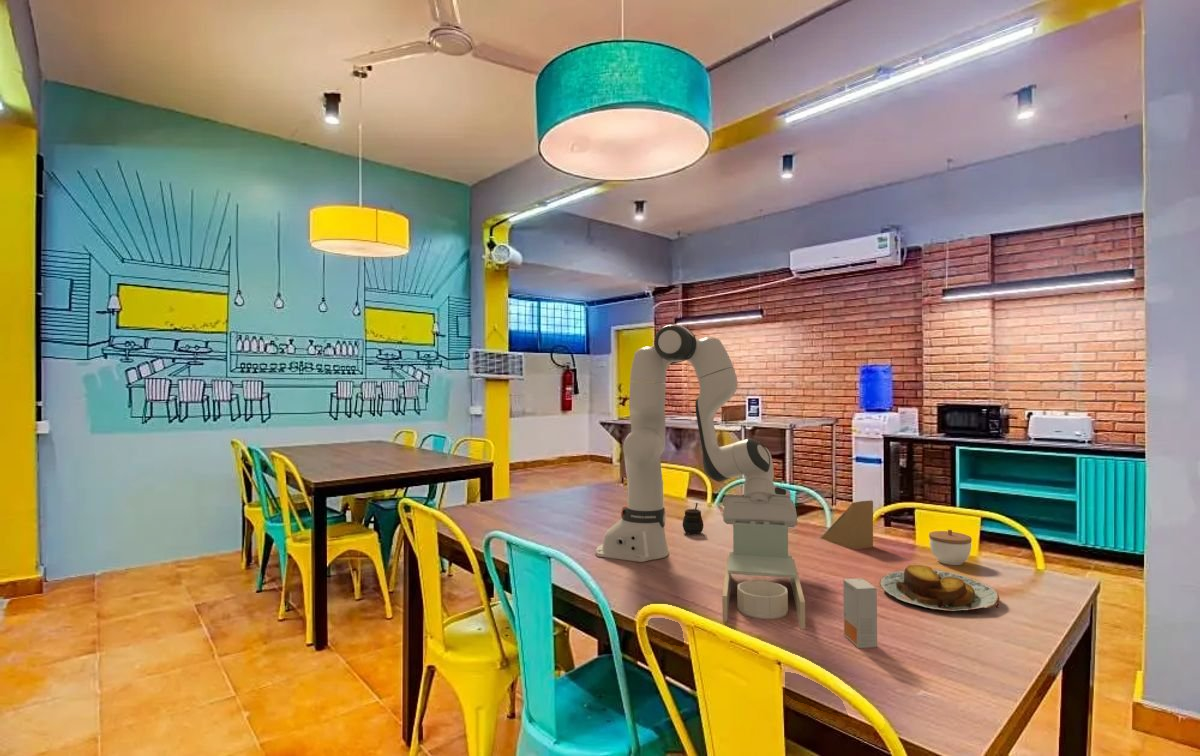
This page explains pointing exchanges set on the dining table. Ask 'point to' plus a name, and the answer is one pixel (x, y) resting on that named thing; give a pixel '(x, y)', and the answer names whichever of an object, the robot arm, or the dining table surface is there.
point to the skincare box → (860, 613)
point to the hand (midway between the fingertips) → (759, 537)
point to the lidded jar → (950, 546)
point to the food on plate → (938, 589)
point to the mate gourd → (693, 521)
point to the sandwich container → (853, 527)
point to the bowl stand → (764, 598)
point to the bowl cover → (761, 551)
